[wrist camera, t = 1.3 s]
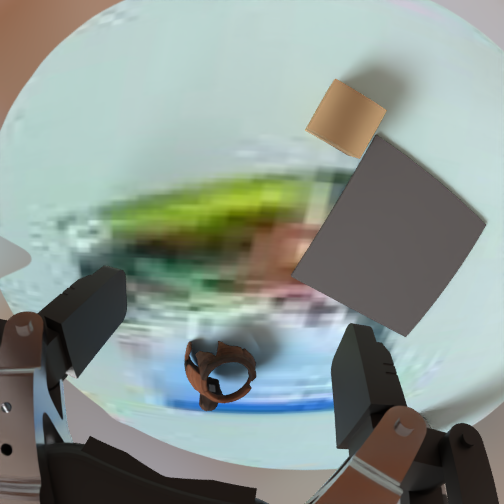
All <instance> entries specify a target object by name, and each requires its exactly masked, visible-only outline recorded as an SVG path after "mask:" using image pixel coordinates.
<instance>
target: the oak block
mask: <svg viewBox="0 0 504 504" xmlns="http://www.w3.org/2000/svg"><path fill="white" fill-rule="evenodd" d="M386 111H387V110H385V109H384V108H383V107H381V106H380V105H378V104H377V103H375V102H373V101H372V100H370V99H369V98H367V97H366V96H364V95H362V94H361V93H359V92H358V91H356V90H354V89H353V88H351V87H349V86H347V85H346V84H344V83H342V82H341V81H339V80H337V79H335V80H334V81H333V83H332V84H331V86H330V87H329V89H328V90H327V92H326V94H325V95H324V97H323V99H322V101H321V102H320V104H319V106H318V108H317V110H316V111H315V113H314V115H313V117H312V118H311V120H310V122H309V124H308V126H307V127H306V129H305V131H307V132H309V133H311V134H312V135H314V136H316V137H318V138H319V139H321V140H323V141H325V142H326V143H328V144H330V145H331V146H333V147H335V148H337V149H338V150H340V151H341V152H343V153H345V154H346V155H349V156H352V157H356V158H359V159H360V158H361V156H362V154H363V152H364V151H365V149H366V147H367V145H368V144H369V142H370V140H371V138H372V136H373V135H374V133H375V131H376V129H377V128H378V126H379V124H380V122H381V120H382V118H383V117H384V115H385V113H386Z"/></svg>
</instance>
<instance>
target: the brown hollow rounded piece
mask: <svg viewBox="0 0 504 504" xmlns="http://www.w3.org/2000/svg"><path fill="white" fill-rule="evenodd" d="M191 345H192V343H191V342H189V343H188V345H187V348H186V353H185V364H184V365H185V371H186V375H187V378H188V380H189V382H190V383H191V385H192V386H193V387H194V389H195V390H197V391H198V392H199V393H200V400H199V405H200V407H201V408H202V409H203V410H205V411H212V410H214V409H215V408H216V407H217V405H218V403H229V402H233V401H236V400H238V399H240V398H242V397H244V396H245V395H246V394H247V393H248V392H249V391H250V390H251V386H250V385H249V384H250V382H251V381H253V380H254V379H255V378H256V371H255V366H256V362H255V360H254V358H253V356H252V355H251V354H250V353H249V352H248V351H247V350H246V349H242V348H241V347H238V346H229V345H226V344H224V343H223V342H220V341H218V349H217V354H216V355H213V354H212V353H209V352H202V351H199V352H197V353H196V354H195V356H196V358H197V360H198V366H199V367H198V366H196V365H195V364H194V363H193V362H192V361H191V359H190V356H189V355H190V352H191V350H192V348H191ZM229 362H237V363H240V364H243V365H244V366H245V367H246V368H247V369H248V374H249V378H248V380H247V382H246V383H245V384H244V386H243V387H242V388H240V389H239V390H238V391H236V392H234V393H232V394H229V395H223V394H222V391H221V389H220V385H219V380H218V379H214V378H211V377H208V376H209V374H210V373H211V372H212V371H213V370H214V369H215V368H216V367H218V366H219V365H221V364H224V363H229Z"/></svg>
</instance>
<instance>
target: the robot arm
mask: <svg viewBox="0 0 504 504" xmlns="http://www.w3.org/2000/svg"><path fill="white" fill-rule="evenodd" d="M126 311H127V299H126V276H125V272H124V271H123V270H120V269H117V268H113V267H110V266H106V265H105V266H103V267H101V268H100V269H99V270H98V271H96V272H95V273H94V274H93V275H88V276H86V277H83V278H81V279H78V280H77V281H76V282H75V283H73V284H72V285H71V286H70V288H67V289H66V290H65V291H63V293H62V294H60V295H59V296H57V297H56V298H55V299H54V300H53V301H51V302H50V303H49V304H48V305H47V306H46V307H44V308H43V309H42V310H41V311H40V312H39V313H34V312H20V313H17V314H15V315H13V316H12V317H11V318H10V319H9V320H8V321H7V320H2V319H0V504H268V503H266V502H264V501H262V500H260V499H257V498H255V497H256V490H257V489H256V488H250V487H244V486H239V485H233V484H229V483H224V482H219V481H215V480H198V479H196V480H195V479H182V478H170V477H165V476H162V475H160V474H159V473H157V472H155V471H154V470H152V469H151V468H149V467H147V466H146V465H144V464H143V463H141V462H139V461H138V460H137V459H135V458H134V457H132V456H131V455H129V454H128V453H126V452H124V451H122V450H119V449H117V448H114V447H112V446H110V445H107V444H106V443H103V442H101V441H99V440H97V439H95V438H93V437H91V436H90V437H89V439H88V440H87V442H86V444H80V443H73V441H72V438H71V435H70V432H69V429H68V424H67V417H66V409H65V400H64V389H63V381H62V379H61V378H62V377H63V376H64V375H65V373H66V374H68V375H70V376H72V377H74V378H76V379H77V378H78V377H79V376H80V374H81V373H82V372H83V371H84V369H85V368H86V367H87V365H88V364H89V363H90V362H91V360H92V359H93V358H94V356H95V355H96V354H97V353H98V351H99V350H100V349H101V348H102V346H103V345H104V344H105V343H106V341H107V340H108V339H109V338H110V336H111V335H112V334H113V333H114V332H115V330H116V329H117V328H118V327H119V325H120V324H121V323H122V322H123V320H124V318H125V315H126ZM393 365H394V363H393V360H392V357H391V354H390V352H389V351H388V350H387V349H386V347H385V346H384V345H383V344H382V343H380V342H376V339H375V336H374V333H373V330H372V328H371V327H370V326H364V325H358V324H353V323H350V324H349V325H348V327H347V328H346V331H345V333H344V335H343V338H342V340H341V342H340V344H339V347H338V349H337V351H336V353H335V355H334V358H333V361H332V366H331V378H332V389H333V400H334V413H335V428H336V445H337V449H349V457H348V458H347V459H346V460H345V461H344V462H343V464H342V465H341V466H340V467H339V468H338V469H337V470H336V472H335V473H334V474H333V475H332V476H331V477H330V479H328V481H327V482H326V483H325V484H324V485H323V486H322V487H321V488H320V489H319V490H318V491H317V492H316V493H315V494H314V495H313V496H312V497H311V498H310V499H309V500H308V501H307V502H306V503H305V504H499V502H498V497H497V492H496V488H495V483H494V479H493V476H492V471H491V468H490V464H489V460H488V457H487V454H486V450H485V447H484V444H483V441H482V438H481V436H480V434H479V433H478V431H477V430H476V429H475V428H474V427H472V426H470V425H468V424H465V423H459V424H456V425H454V426H453V427H452V428H451V429H450V430H449V431H448V432H447V433H445V432H441V431H437V430H434V429H431V428H430V425H428V423H427V420H426V419H425V418H424V417H422V416H421V415H420V414H419V413H418V412H417V411H415V410H414V409H412V408H409V407H407V404H406V401H405V398H404V394H403V391H402V388H401V385H400V382H399V378H398V375H396V374H397V372H396V369H395V366H393ZM444 484H445V485H446V491H447V495H446V491H445V487H444ZM447 497H448V499H447Z"/></svg>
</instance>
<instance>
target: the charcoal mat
mask: <svg viewBox="0 0 504 504" xmlns="http://www.w3.org/2000/svg"><path fill="white" fill-rule="evenodd" d="M485 226H486V224H485V223H484V222H483V221H482V220H481V219H480V218H479V217H478V216H477V215H476V214H475V213H474V212H473V211H472V210H470V209H469V208H468V207H467V206H466V205H465V204H464V203H463V202H462V201H461V200H460V199H459V198H457V197H456V196H455V195H454V194H453V193H452V192H451V191H450V190H448V189H447V188H446V187H445V186H444V185H443V184H441V183H440V182H439V181H438V180H437V179H435V178H434V177H433V176H432V175H430V174H429V173H428V172H427V171H426V170H424V169H423V168H422V167H420V166H419V165H418V164H417V163H415V162H414V161H413V160H411V159H410V158H409V157H407V156H406V155H405V154H403V153H402V152H401V151H399V150H398V149H396V148H395V147H394V146H392V145H391V144H389V143H388V142H386V141H385V140H383V139H382V138H381V137H379V136H378V135H375V137H374V139H373V140H372V142H371V144H370V146H369V147H368V149H367V151H366V153H365V155H364V156H363V158H362V160H361V161H360V163H359V165H358V167H357V168H356V170H355V172H354V174H353V175H352V177H351V179H350V180H349V182H348V184H347V185H346V187H345V189H344V191H343V192H342V194H341V196H340V197H339V199H338V201H337V202H336V204H335V206H334V207H333V209H332V210H331V212H330V214H329V215H328V217H327V219H326V220H325V222H324V224H323V225H322V227H321V228H320V230H319V232H318V233H317V235H316V236H315V238H314V240H313V241H312V243H311V244H310V246H309V248H308V249H307V251H306V252H305V254H304V256H303V257H302V259H301V260H300V262H299V263H298V265H297V266H296V268H295V270H294V271H293V273H292V274H291V277H293V278H295V279H297V280H299V281H301V282H302V283H304V284H306V285H308V286H310V287H312V288H314V289H316V290H318V291H319V292H321V293H323V294H325V295H327V296H329V297H331V298H333V299H334V300H336V301H338V302H340V303H342V304H344V305H346V306H348V307H350V308H351V309H353V310H355V311H357V312H359V313H361V314H363V315H365V316H367V317H368V318H370V319H372V320H374V321H376V322H378V323H380V324H382V325H384V326H385V327H387V328H389V329H391V330H393V331H395V332H397V333H399V334H401V335H403V336H404V337H406V336H407V335H408V334H409V333H410V332H411V331H412V329H413V328H414V327H415V326H416V325H417V323H418V322H419V321H420V320H421V319H422V317H423V316H424V315H425V314H426V312H427V311H428V310H429V309H430V307H431V306H432V305H433V304H434V302H435V301H436V300H437V298H438V297H439V296H440V294H441V293H442V292H443V290H444V289H445V288H446V286H447V285H448V284H449V282H450V281H451V279H452V278H453V276H454V275H455V274H456V272H457V271H458V269H459V268H460V266H461V265H462V263H463V262H464V260H465V259H466V257H467V256H468V254H469V253H470V251H471V249H472V248H473V246H474V245H475V243H476V241H477V240H478V238H479V236H480V235H481V233H482V231H483V230H484V228H485Z"/></svg>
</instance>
